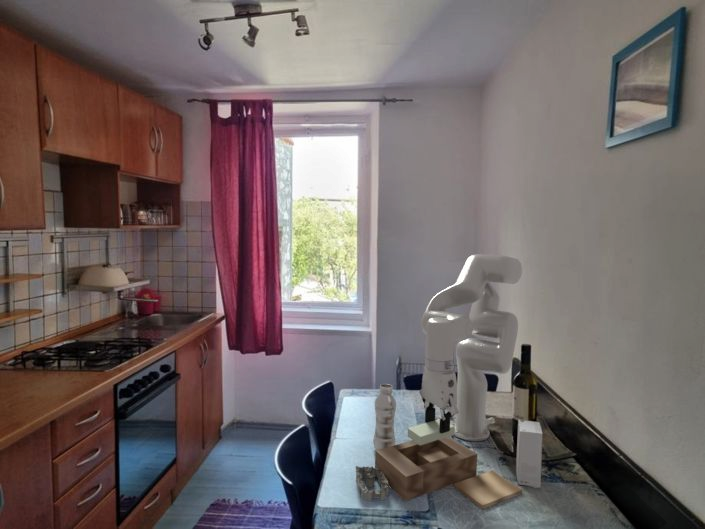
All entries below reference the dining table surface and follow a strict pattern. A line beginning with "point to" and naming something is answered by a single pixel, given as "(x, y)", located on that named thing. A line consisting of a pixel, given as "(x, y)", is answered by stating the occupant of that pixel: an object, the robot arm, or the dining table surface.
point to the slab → (428, 432)
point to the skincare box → (529, 453)
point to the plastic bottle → (384, 418)
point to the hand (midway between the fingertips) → (437, 426)
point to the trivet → (487, 489)
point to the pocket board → (425, 466)
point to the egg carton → (371, 482)
